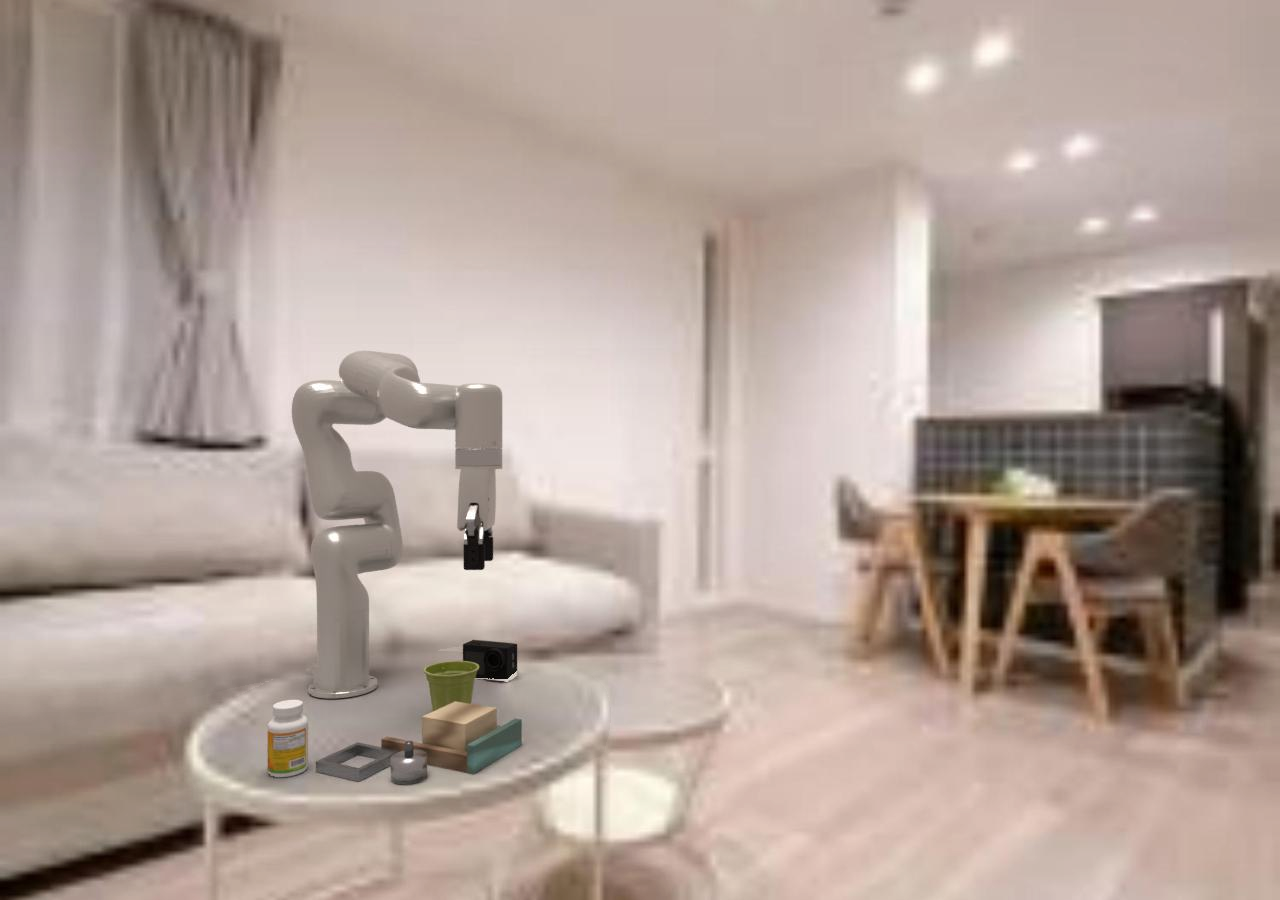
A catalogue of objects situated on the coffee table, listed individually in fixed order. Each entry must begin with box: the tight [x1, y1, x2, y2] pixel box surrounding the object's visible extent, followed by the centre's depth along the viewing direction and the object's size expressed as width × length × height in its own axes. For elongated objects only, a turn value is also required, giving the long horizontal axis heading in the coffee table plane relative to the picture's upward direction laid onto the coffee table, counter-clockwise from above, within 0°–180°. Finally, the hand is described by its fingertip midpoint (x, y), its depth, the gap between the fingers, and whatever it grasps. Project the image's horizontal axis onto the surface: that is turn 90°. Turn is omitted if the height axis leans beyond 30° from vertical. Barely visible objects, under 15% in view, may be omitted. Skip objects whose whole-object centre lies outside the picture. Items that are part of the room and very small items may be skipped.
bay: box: [380, 701, 523, 775], centre depth 123 cm, size 17×12×6 cm
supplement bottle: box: [267, 699, 309, 778], centre depth 116 cm, size 5×5×10 cm
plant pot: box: [423, 660, 479, 712], centre depth 138 cm, size 9×9×9 cm
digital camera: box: [462, 639, 518, 679], centre depth 162 cm, size 10×5×7 cm, turn 70°
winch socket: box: [315, 740, 428, 786], centre depth 115 cm, size 16×8×5 cm, turn 65°
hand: (478, 565), depth 130 cm, fingers open, 9 cm apart
